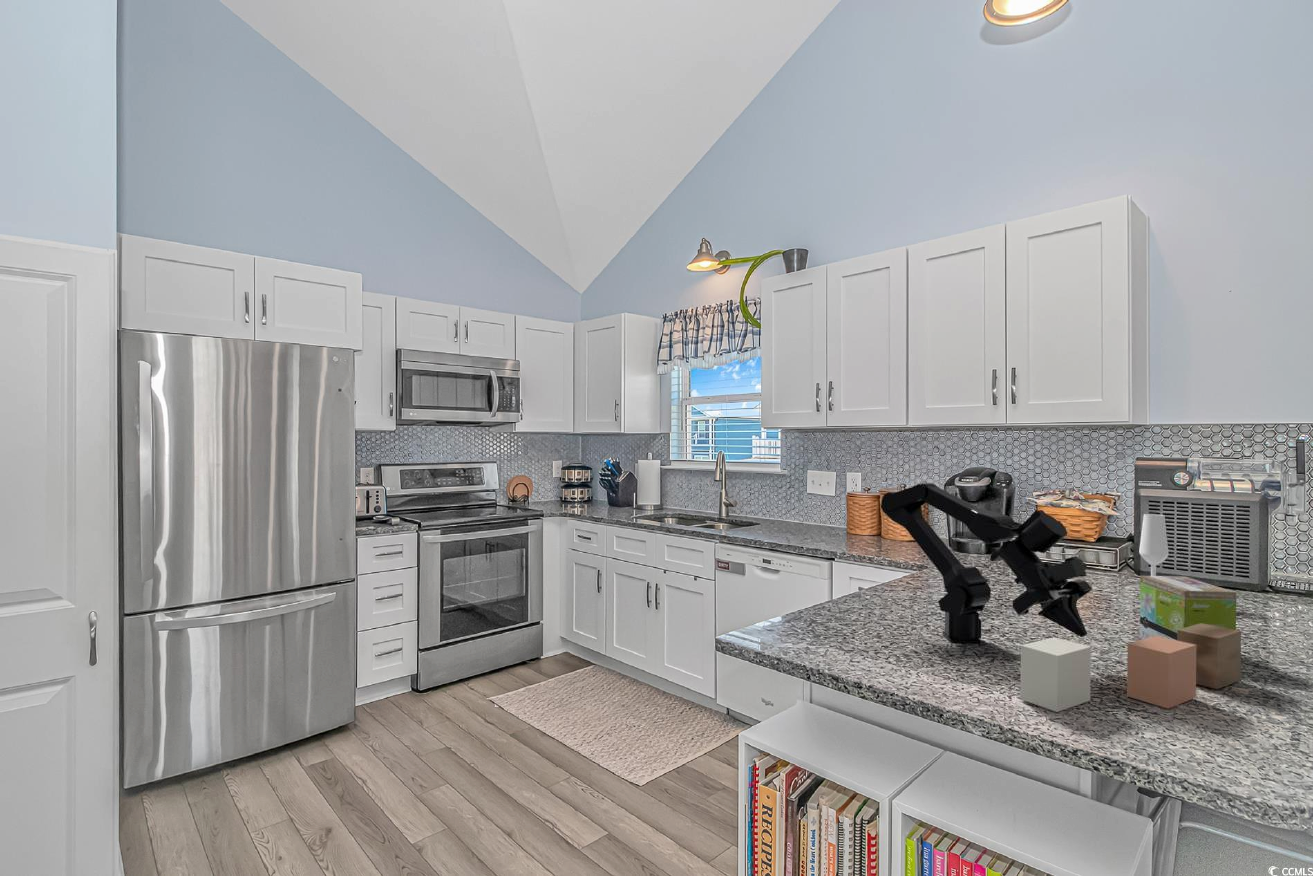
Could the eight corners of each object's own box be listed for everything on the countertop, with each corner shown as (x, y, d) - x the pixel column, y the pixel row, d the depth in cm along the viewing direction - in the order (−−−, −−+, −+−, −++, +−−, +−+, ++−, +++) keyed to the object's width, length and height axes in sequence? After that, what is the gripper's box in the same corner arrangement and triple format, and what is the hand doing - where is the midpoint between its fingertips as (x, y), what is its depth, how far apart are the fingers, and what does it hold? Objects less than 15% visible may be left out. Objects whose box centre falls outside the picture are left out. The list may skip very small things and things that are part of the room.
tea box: (1137, 639, 147) (1138, 573, 147) (1185, 642, 146) (1186, 575, 146) (1184, 662, 132) (1185, 588, 132) (1238, 664, 131) (1239, 590, 131)
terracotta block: (1127, 696, 112) (1127, 643, 112) (1155, 686, 117) (1155, 635, 117) (1168, 708, 107) (1168, 653, 107) (1195, 697, 112) (1196, 644, 112)
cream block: (1020, 699, 110) (1020, 645, 110) (1053, 688, 115) (1054, 637, 115) (1057, 712, 105) (1057, 655, 105) (1090, 700, 110) (1090, 646, 110)
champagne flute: (1164, 597, 189) (1165, 514, 189) (1171, 602, 183) (1172, 516, 183) (1135, 595, 192) (1136, 513, 192) (1142, 600, 185) (1143, 515, 186)
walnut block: (1176, 678, 121) (1177, 629, 121) (1200, 669, 126) (1201, 623, 126) (1217, 689, 116) (1217, 638, 116) (1240, 679, 121) (1241, 631, 121)
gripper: (1029, 545, 123) (1091, 619, 113) (1082, 539, 132) (1144, 606, 123) (988, 579, 130) (1044, 651, 120) (1042, 571, 139) (1097, 637, 130)
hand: (1084, 635), depth 123 cm, fingers closed
